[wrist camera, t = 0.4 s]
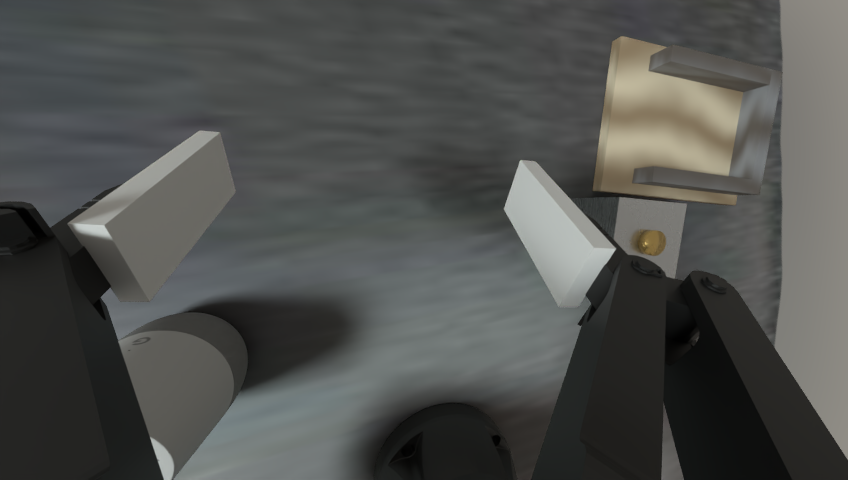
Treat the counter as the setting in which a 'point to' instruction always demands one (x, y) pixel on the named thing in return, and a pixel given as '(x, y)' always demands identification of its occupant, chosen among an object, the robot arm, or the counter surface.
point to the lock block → (640, 226)
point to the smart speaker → (184, 380)
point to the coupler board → (684, 124)
